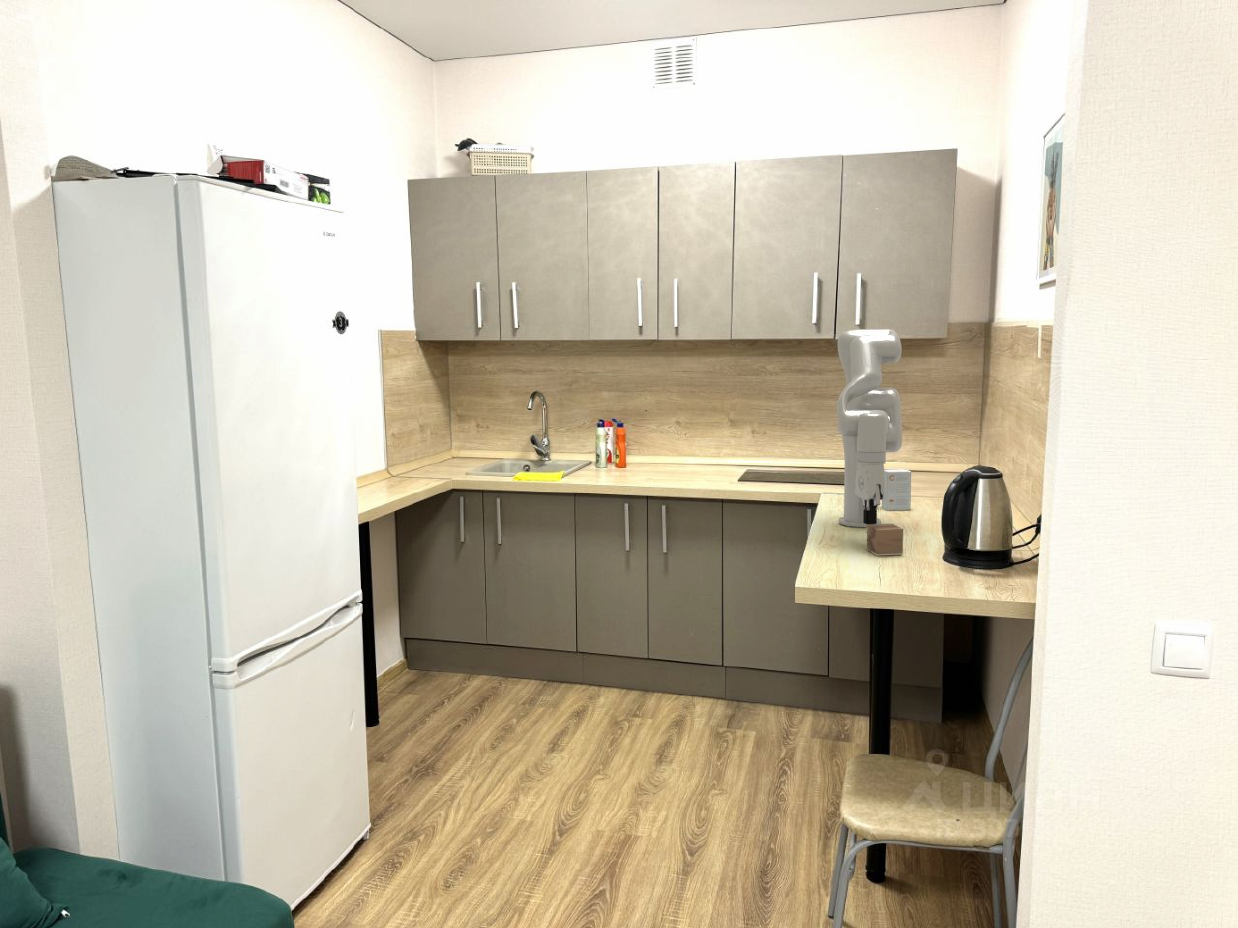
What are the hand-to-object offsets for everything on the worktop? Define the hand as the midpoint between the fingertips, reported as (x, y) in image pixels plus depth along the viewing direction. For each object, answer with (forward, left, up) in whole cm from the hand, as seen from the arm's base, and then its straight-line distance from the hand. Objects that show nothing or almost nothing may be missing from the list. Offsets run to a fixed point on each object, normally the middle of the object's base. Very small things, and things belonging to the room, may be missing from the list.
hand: (869, 523), depth 242 cm
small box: (-48, +29, -6) cm, 57 cm away
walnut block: (+10, 0, -6) cm, 11 cm away
